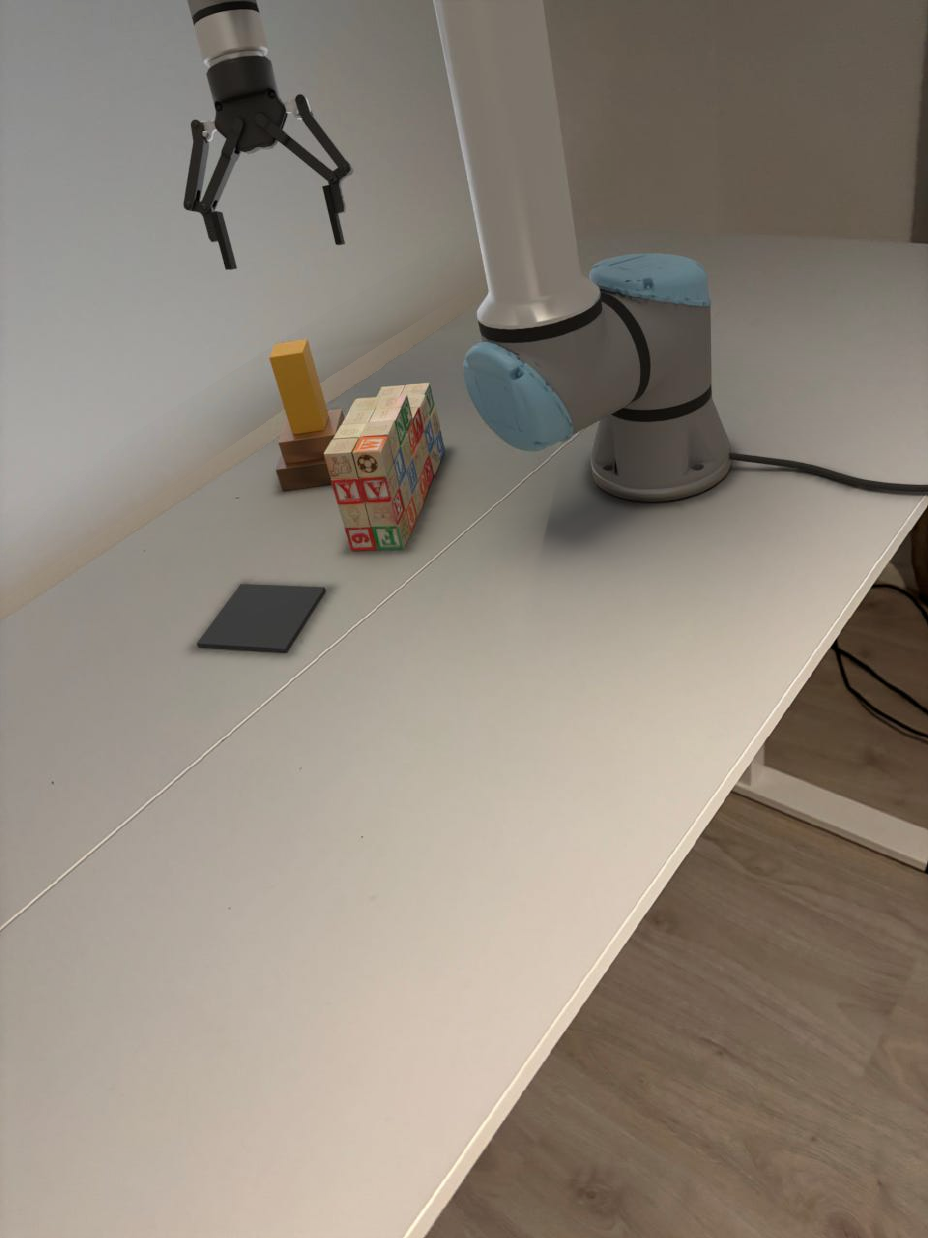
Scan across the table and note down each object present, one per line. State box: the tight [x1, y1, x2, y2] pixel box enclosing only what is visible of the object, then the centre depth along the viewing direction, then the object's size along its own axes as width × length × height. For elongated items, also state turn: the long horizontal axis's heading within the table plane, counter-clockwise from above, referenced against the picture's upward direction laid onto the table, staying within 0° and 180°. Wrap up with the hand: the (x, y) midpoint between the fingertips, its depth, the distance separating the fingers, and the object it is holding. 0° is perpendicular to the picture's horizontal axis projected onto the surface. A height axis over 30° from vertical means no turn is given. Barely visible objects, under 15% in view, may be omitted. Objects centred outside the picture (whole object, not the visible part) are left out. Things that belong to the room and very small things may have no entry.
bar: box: [268, 338, 329, 435], centre depth 122 cm, size 4×4×10 cm
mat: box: [196, 583, 326, 653], centre depth 105 cm, size 10×10×1 cm
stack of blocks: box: [324, 382, 446, 552], centre depth 116 cm, size 21×6×12 cm, turn 169°
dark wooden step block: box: [275, 408, 346, 492], centre depth 127 cm, size 9×9×6 cm
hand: (285, 256), depth 123 cm, fingers open, 13 cm apart
